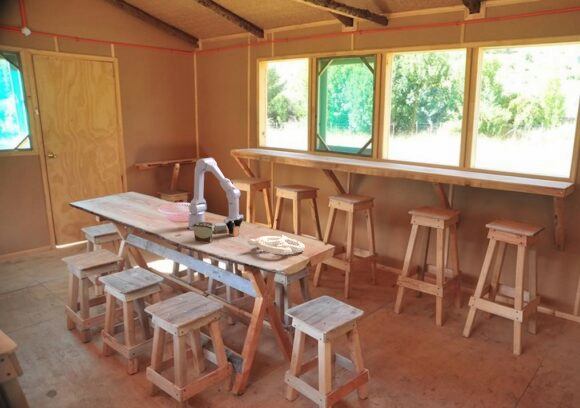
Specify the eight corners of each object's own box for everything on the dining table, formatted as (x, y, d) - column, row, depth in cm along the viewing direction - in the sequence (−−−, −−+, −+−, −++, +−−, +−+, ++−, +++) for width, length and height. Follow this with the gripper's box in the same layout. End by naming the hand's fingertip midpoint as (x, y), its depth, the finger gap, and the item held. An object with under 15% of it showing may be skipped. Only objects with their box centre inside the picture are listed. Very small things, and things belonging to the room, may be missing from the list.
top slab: (216, 230, 257) (216, 226, 256) (214, 227, 262) (214, 223, 262) (226, 229, 259) (226, 225, 258) (224, 226, 264) (224, 222, 264)
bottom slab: (215, 234, 256) (215, 230, 256) (213, 231, 263) (213, 227, 262) (227, 233, 259) (227, 229, 258) (225, 230, 265) (225, 226, 264)
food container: (218, 240, 244) (217, 223, 242) (212, 243, 239) (212, 225, 237) (198, 237, 248) (198, 220, 246) (192, 240, 243) (192, 223, 240)
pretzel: (280, 242, 248) (282, 231, 247) (311, 254, 232) (313, 242, 231) (242, 246, 228) (243, 234, 227) (273, 260, 212) (275, 247, 211)
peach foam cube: (234, 236, 251) (234, 228, 250) (228, 235, 254) (228, 226, 253) (239, 234, 255) (239, 226, 254) (233, 233, 257) (233, 225, 256)
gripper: (230, 213, 243) (230, 236, 246) (247, 208, 255) (247, 231, 258) (220, 211, 247) (221, 234, 250) (238, 206, 258) (238, 228, 262)
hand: (233, 232), depth 254 cm, fingers closed on peach foam cube, 4 cm apart
